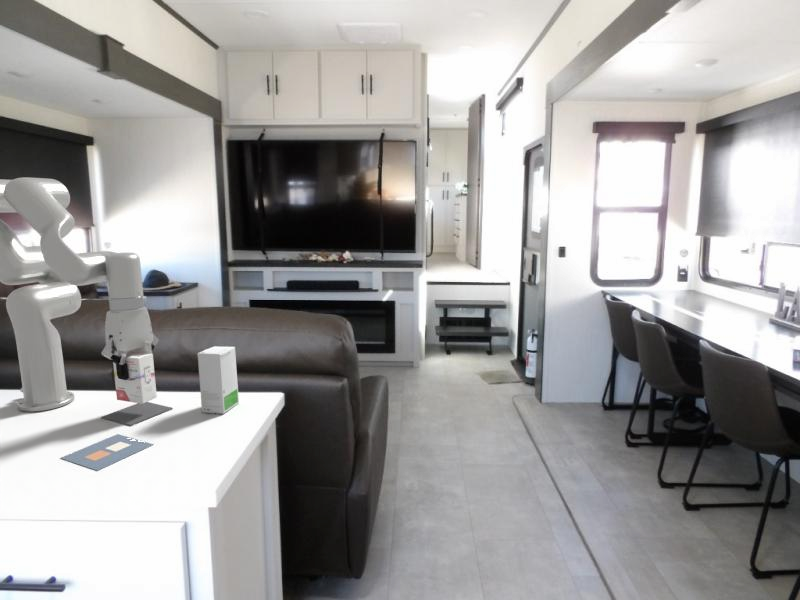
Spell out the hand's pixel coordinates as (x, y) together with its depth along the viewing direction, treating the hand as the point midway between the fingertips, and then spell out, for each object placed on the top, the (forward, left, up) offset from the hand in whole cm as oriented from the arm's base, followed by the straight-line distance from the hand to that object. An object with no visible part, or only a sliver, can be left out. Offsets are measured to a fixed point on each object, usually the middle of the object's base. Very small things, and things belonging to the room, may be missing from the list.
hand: (134, 374), depth 132 cm
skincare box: (+16, +12, -10) cm, 22 cm away
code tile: (+13, -17, -10) cm, 24 cm away
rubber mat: (0, 0, -10) cm, 10 cm away
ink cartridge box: (0, 0, -7) cm, 7 cm away
